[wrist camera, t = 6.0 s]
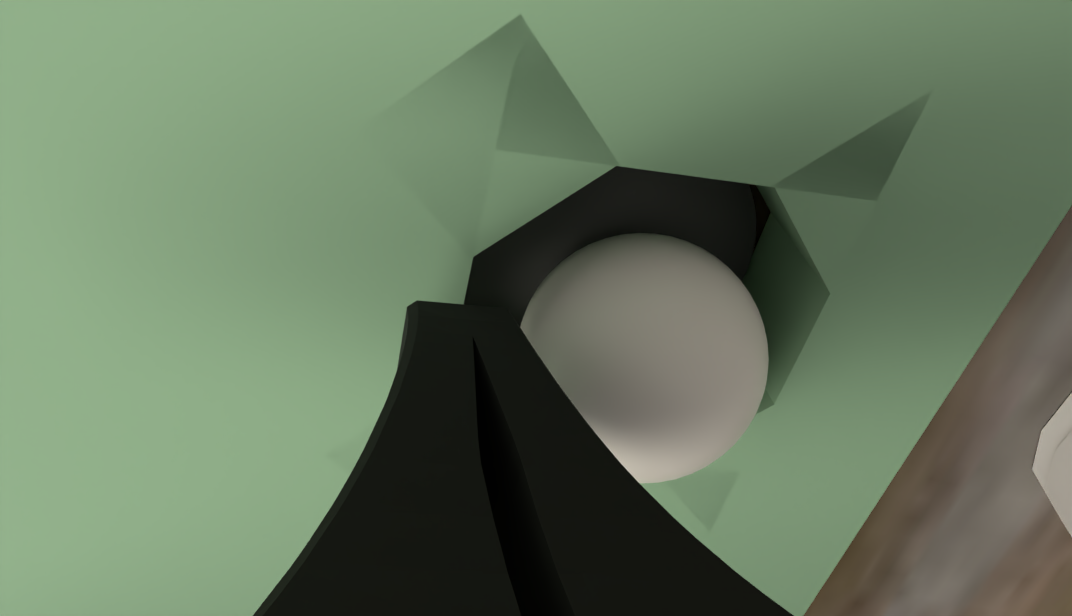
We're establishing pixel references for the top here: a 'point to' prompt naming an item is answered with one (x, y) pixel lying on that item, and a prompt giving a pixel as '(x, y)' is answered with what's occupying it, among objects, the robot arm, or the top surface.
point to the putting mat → (479, 248)
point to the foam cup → (1057, 462)
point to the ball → (653, 350)
